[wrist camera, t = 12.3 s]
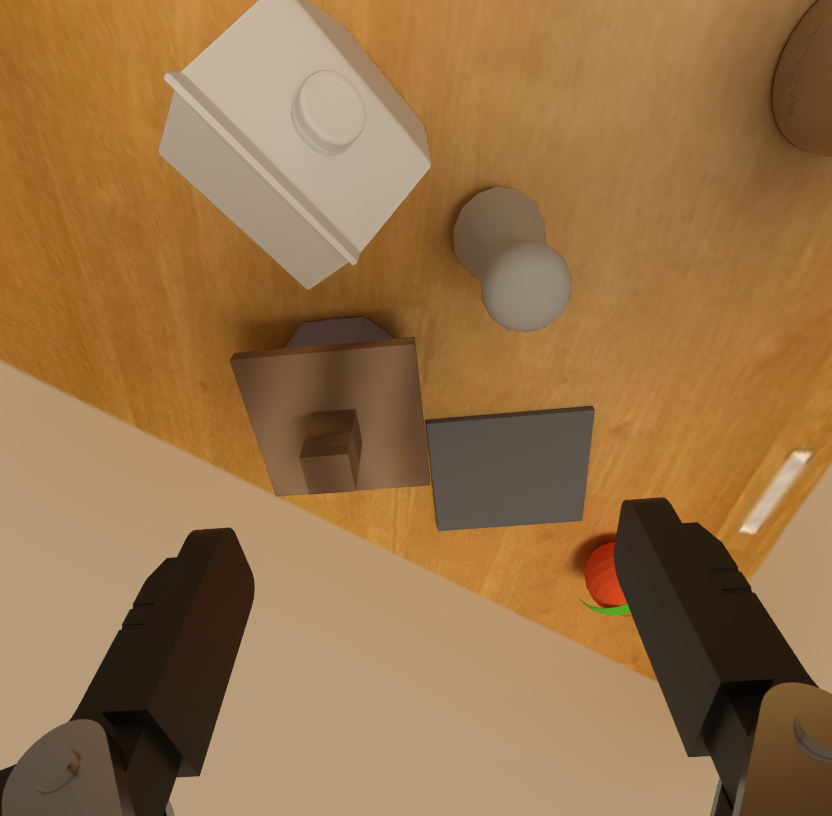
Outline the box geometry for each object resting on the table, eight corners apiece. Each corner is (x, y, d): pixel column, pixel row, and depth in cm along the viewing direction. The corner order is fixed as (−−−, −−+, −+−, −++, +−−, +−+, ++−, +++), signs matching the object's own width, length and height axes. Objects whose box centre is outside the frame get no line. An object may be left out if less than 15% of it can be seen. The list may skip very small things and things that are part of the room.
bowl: (408, 309, 38) (407, 342, 33) (422, 430, 44) (423, 472, 39) (261, 323, 38) (240, 358, 34) (296, 441, 44) (282, 483, 40)
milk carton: (347, 210, 34) (287, 331, 18) (261, 121, 31) (99, 171, 15) (426, 127, 31) (436, 184, 15) (340, 21, 28) (243, -46, 12)
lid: (414, 337, 33) (414, 384, 28) (429, 476, 39) (431, 535, 34) (234, 353, 33) (202, 402, 28) (279, 487, 40) (259, 546, 35)
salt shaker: (444, 261, 36) (456, 344, 25) (459, 174, 32) (480, 224, 22) (524, 273, 36) (571, 358, 25) (547, 187, 33) (611, 243, 22)
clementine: (574, 581, 55) (593, 642, 49) (559, 540, 51) (578, 601, 46) (649, 562, 53) (678, 623, 47) (639, 519, 50) (669, 579, 44)
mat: (592, 406, 42) (594, 410, 42) (580, 516, 49) (582, 520, 49) (426, 420, 43) (426, 424, 43) (437, 526, 50) (438, 531, 50)
